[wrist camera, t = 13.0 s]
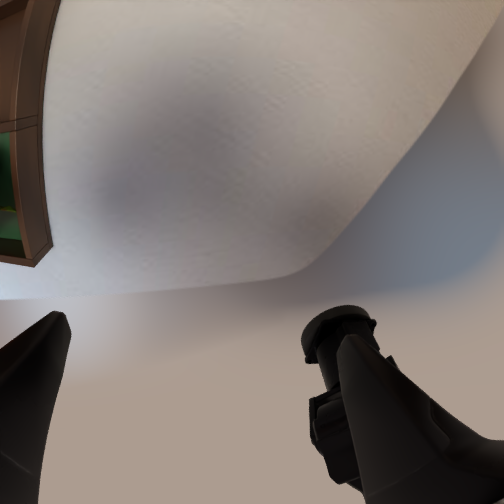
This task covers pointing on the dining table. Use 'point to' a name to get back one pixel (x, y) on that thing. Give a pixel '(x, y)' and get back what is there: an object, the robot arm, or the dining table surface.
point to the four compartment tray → (23, 128)
